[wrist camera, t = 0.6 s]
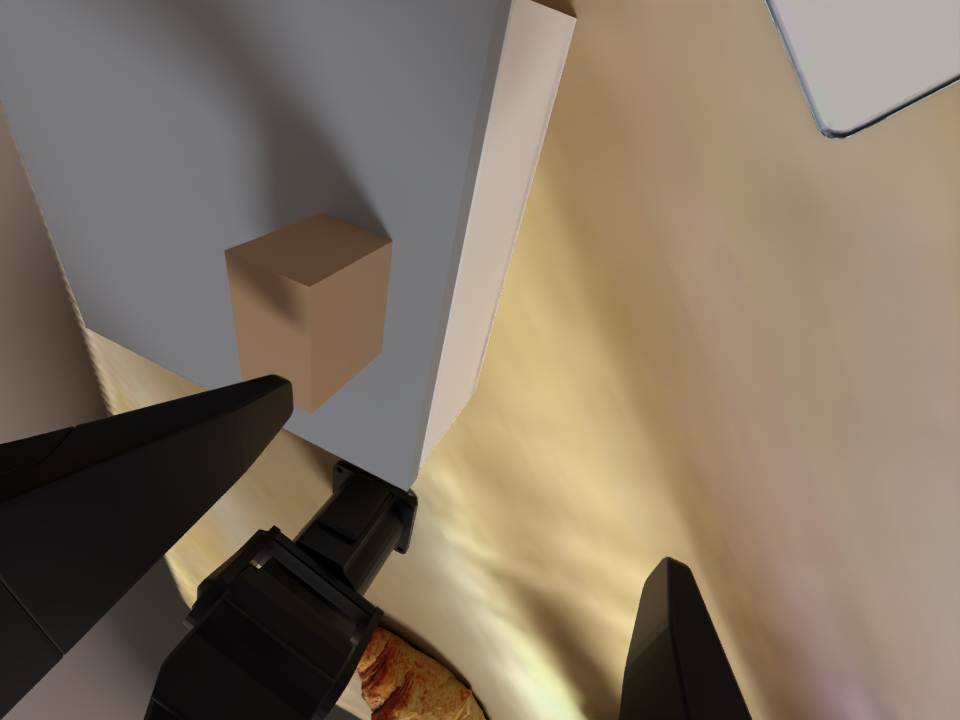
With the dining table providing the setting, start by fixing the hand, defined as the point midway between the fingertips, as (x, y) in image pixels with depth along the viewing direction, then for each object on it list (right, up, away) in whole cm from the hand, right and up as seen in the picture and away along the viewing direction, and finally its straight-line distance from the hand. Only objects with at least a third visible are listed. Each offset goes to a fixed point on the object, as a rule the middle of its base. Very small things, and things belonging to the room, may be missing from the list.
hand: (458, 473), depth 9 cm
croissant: (-4, -29, +37) cm, 47 cm away
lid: (-9, +7, +7) cm, 13 cm away
